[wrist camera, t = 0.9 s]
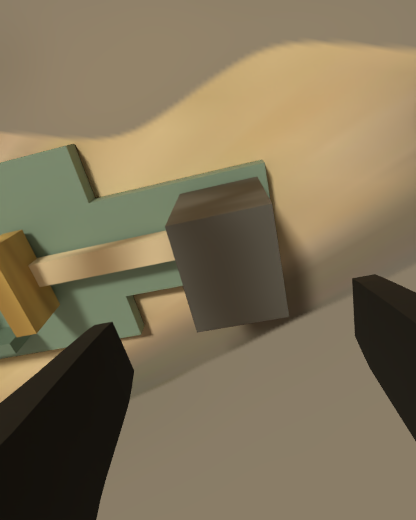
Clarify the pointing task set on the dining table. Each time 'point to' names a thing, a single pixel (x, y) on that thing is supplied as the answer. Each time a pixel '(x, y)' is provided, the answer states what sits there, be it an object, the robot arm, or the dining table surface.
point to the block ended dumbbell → (164, 250)
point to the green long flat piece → (91, 239)
